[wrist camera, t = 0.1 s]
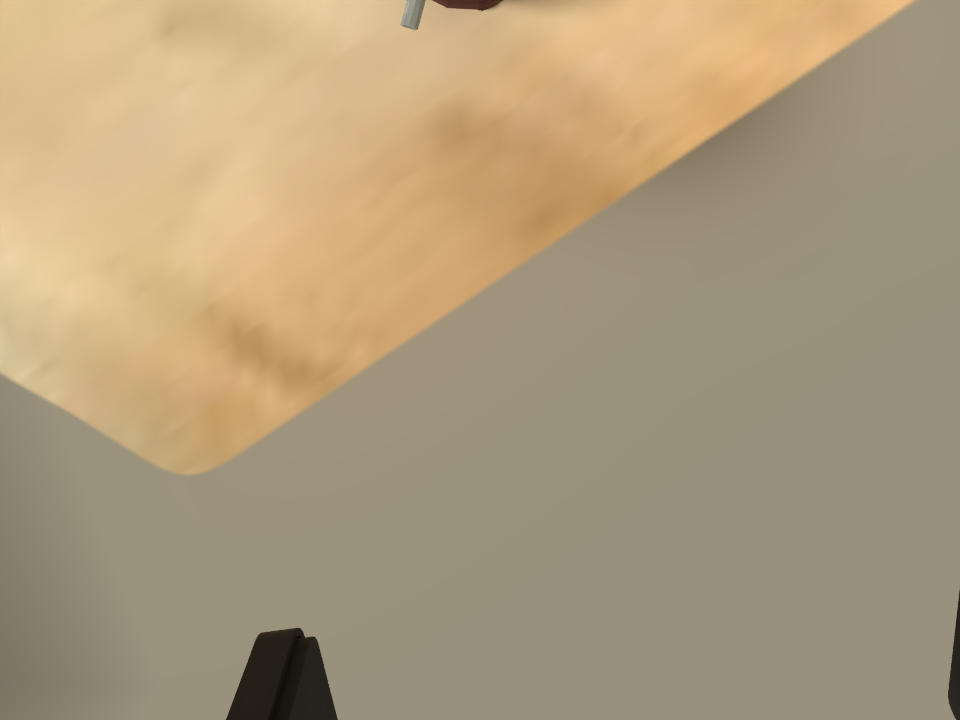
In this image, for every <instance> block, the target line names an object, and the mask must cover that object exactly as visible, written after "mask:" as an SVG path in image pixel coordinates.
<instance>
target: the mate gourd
mask: <svg viewBox="0 0 960 720" xmlns="http://www.w3.org/2000/svg"><path fill="white" fill-rule="evenodd" d="M433 1H435V2H437V3H439V4H441V5H443V6H445V7H447V8H456V9H478V10H482V11H483V10H485V9H487V8H490V7H493V6H494V5H496V4H498V3H499V2H501V1H502V0H433ZM424 4H425V0H407V3H406V7H405V10H404V14H403V18H402V22H401V25H402V26H403V27H406V28H409V29H413V30H418V26H419V23H420V19H421V15H422V11H423V8H424Z"/></svg>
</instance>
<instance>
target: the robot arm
mask: <svg viewBox="0 0 960 720" xmlns="http://www.w3.org/2000/svg"><path fill="white" fill-rule="evenodd" d="M948 699H949V704H950V707H951V710H952V712H953V714H954V716H955V718H956V720H960V592H959V601H958V611H957V619H956V628H955V636H954V645H953V654H952V663H951V672H950V681H949V691H948ZM226 720H338V719H337V716H336V712H335V708H334V704H333V700H332V696H331V692H330V688H329V684H328V680H327V676H326V672H325V668H324V664H323V660H322V657H321V653H320V649H319V645H318V642H317V639H316V638H315V637H306V638H305V636H304V633H303V631H302V630H301V629H300V628H294V629H286V630H279V631H271V632H264V633H260V634H259V635H258V637H257V639H256V641H255V643H254V646H253V649H252V651H251V654H250V657H249V659H248V663H247V665H246V668H245V670H244V673H243V676H242V678H241V681H240V684H239V687H238V689H237V692H236V694H235V697H234V700H233V703H232V705H231V708H230V711H229V713H228V716H227V719H226Z"/></svg>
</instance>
